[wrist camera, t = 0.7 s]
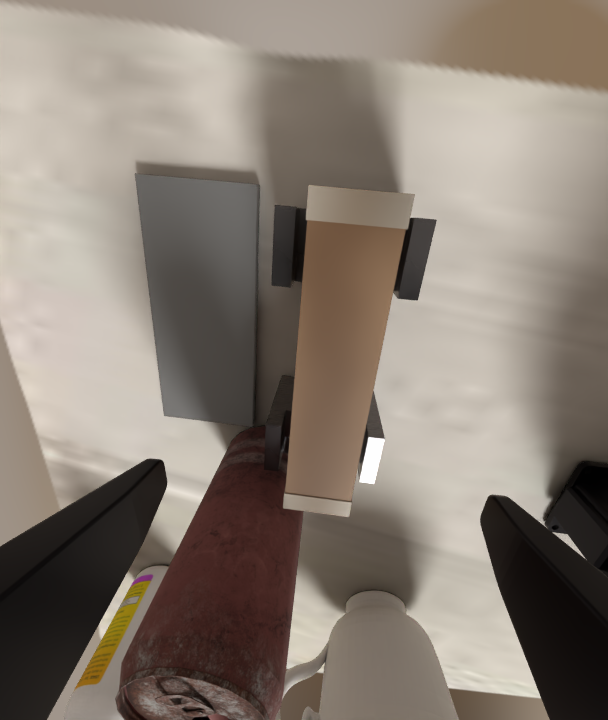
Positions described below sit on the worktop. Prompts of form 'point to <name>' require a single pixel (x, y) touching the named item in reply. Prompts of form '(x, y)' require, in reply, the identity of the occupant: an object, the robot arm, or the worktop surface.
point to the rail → (340, 338)
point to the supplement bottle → (113, 653)
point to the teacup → (377, 666)
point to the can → (221, 602)
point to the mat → (203, 293)
